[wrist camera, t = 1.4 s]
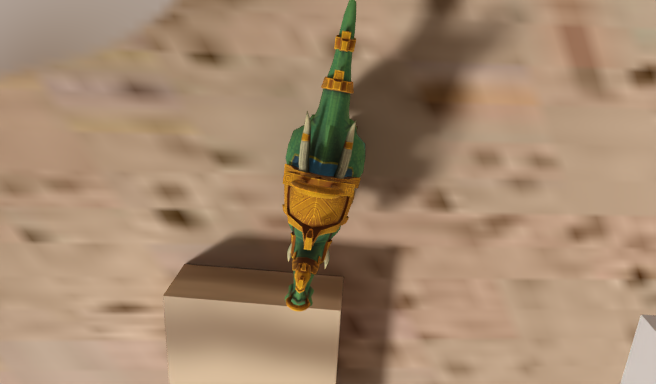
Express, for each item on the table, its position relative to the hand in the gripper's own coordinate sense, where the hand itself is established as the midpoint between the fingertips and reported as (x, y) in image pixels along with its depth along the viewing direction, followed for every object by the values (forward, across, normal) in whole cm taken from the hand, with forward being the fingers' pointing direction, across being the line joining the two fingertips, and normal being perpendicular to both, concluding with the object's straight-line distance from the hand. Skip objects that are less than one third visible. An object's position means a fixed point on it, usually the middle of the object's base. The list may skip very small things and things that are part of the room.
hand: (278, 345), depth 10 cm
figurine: (+15, 0, 0) cm, 15 cm away
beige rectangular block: (+15, -3, -15) cm, 21 cm away
